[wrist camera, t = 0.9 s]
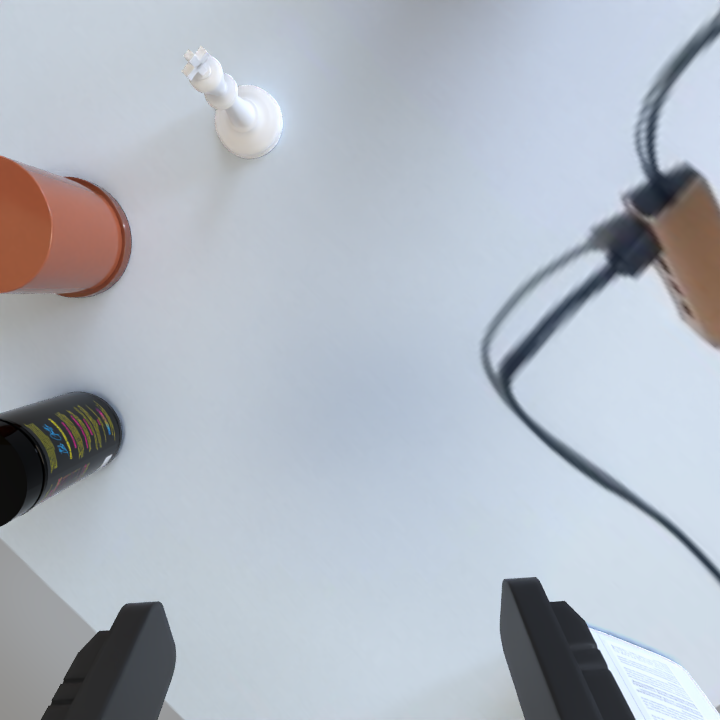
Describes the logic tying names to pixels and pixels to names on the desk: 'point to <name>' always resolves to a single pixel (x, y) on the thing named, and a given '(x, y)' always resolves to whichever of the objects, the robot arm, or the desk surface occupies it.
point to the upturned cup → (58, 234)
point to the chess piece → (236, 107)
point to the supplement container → (53, 448)
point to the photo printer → (653, 682)
